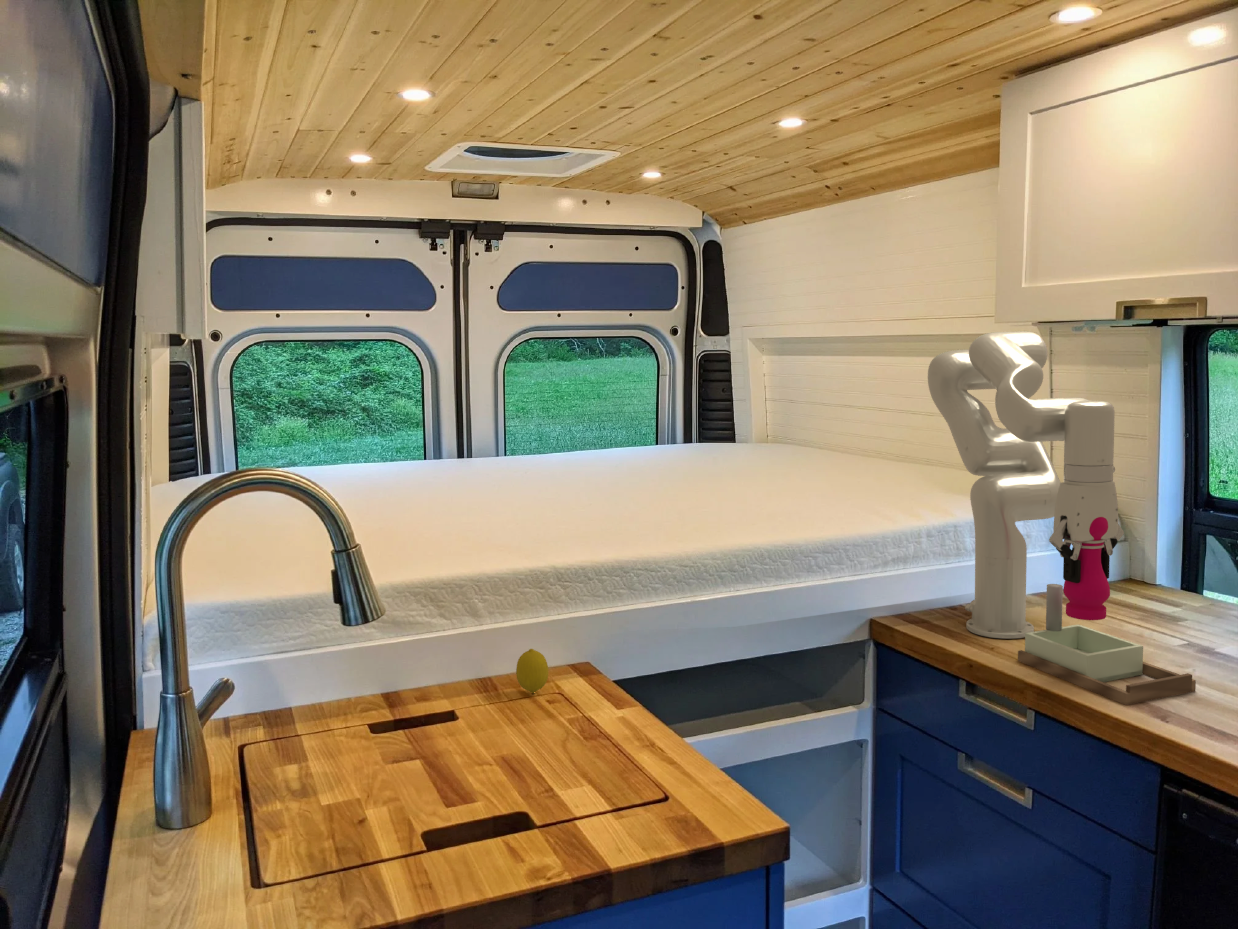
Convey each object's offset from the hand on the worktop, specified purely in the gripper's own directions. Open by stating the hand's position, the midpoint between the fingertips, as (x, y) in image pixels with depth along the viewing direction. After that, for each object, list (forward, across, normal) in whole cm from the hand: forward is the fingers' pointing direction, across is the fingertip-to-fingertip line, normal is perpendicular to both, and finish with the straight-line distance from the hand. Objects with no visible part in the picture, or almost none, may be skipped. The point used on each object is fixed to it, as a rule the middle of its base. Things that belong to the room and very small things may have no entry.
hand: (1086, 578), depth 165 cm
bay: (+17, 0, +4) cm, 18 cm away
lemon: (+17, +90, -32) cm, 97 cm away
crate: (+16, 0, -1) cm, 16 cm away
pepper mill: (+7, 0, 0) cm, 7 cm away
